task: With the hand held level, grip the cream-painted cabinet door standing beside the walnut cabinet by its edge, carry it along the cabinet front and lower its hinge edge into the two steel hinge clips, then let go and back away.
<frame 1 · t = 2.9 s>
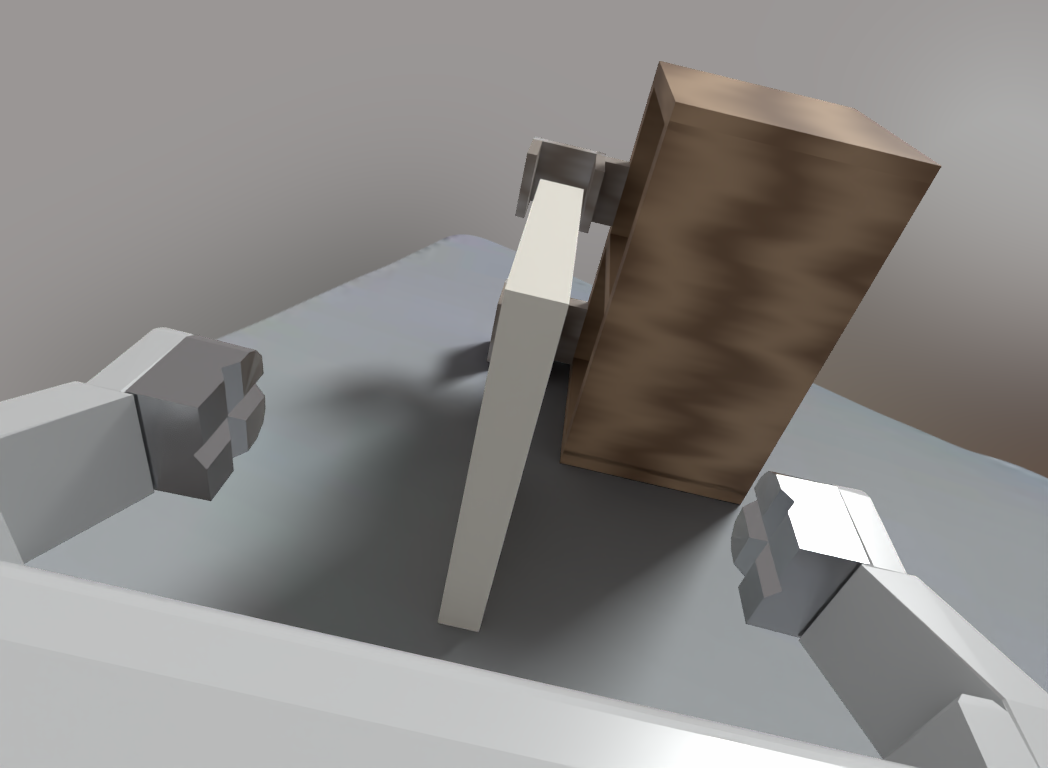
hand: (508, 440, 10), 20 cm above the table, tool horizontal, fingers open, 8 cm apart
door: (478, 537, 34), on the table
cabinet: (565, 406, 44), on the table
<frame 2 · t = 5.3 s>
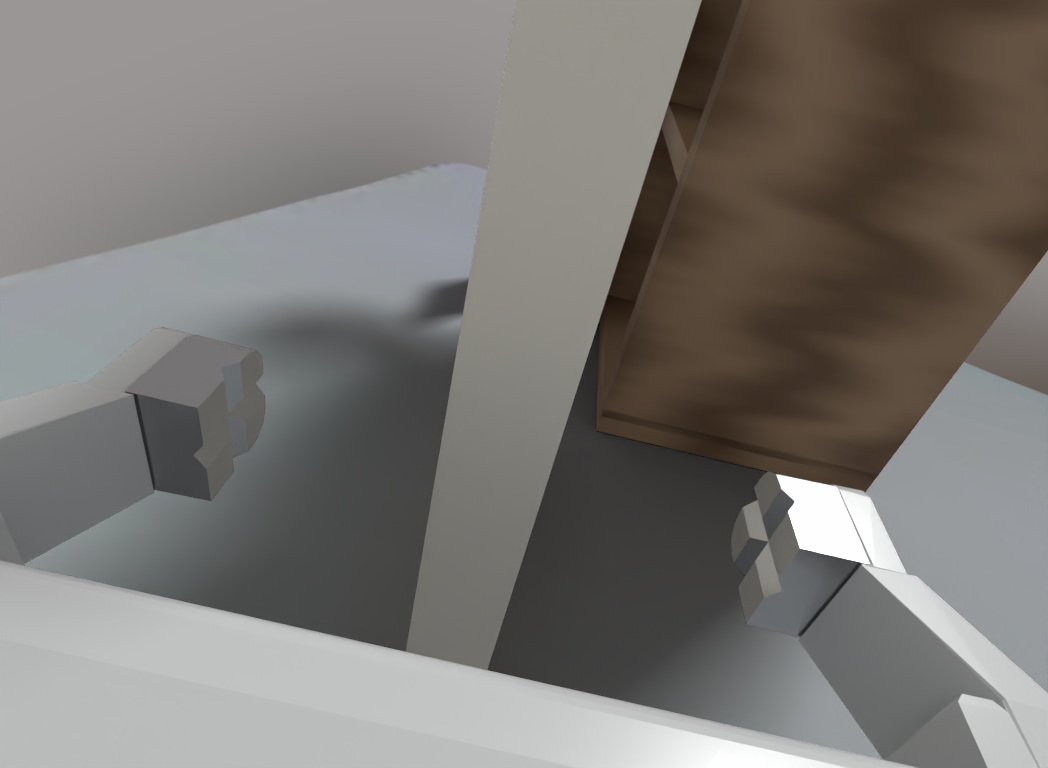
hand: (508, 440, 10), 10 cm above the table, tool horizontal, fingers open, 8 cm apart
door: (474, 541, 20), on the table
cabinet: (598, 356, 31), on the table
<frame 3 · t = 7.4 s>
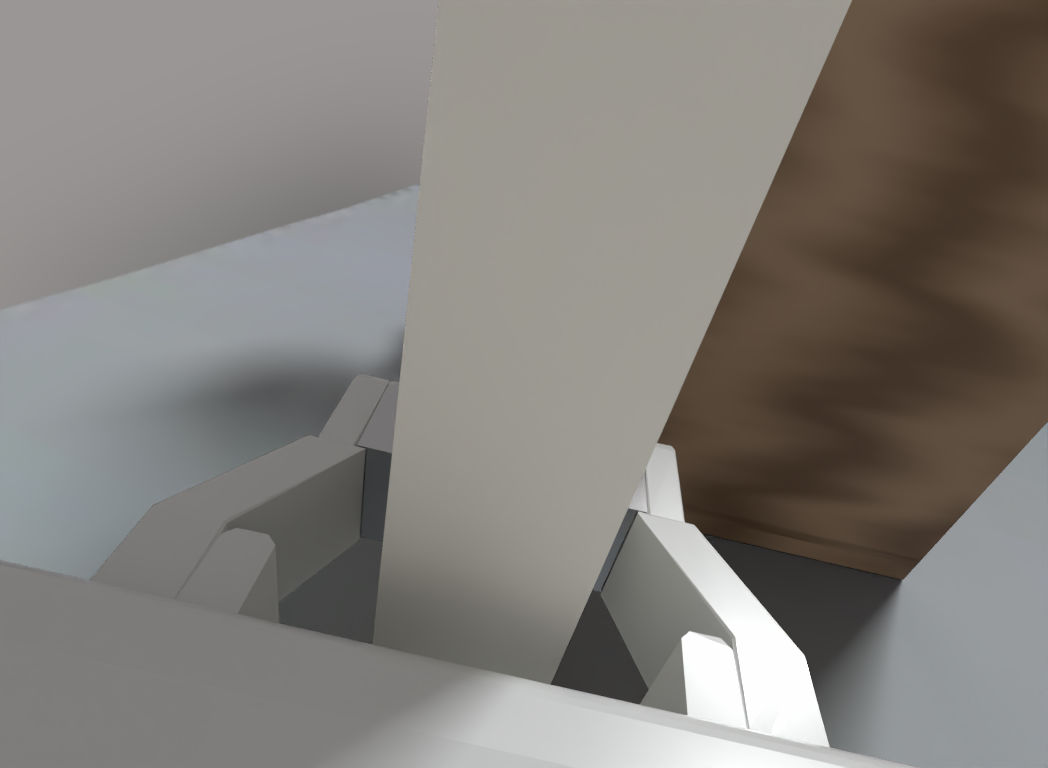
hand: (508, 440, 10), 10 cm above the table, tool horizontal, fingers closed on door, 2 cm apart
door: (450, 669, 17), on the table, touching gripper
cabinet: (598, 411, 28), on the table
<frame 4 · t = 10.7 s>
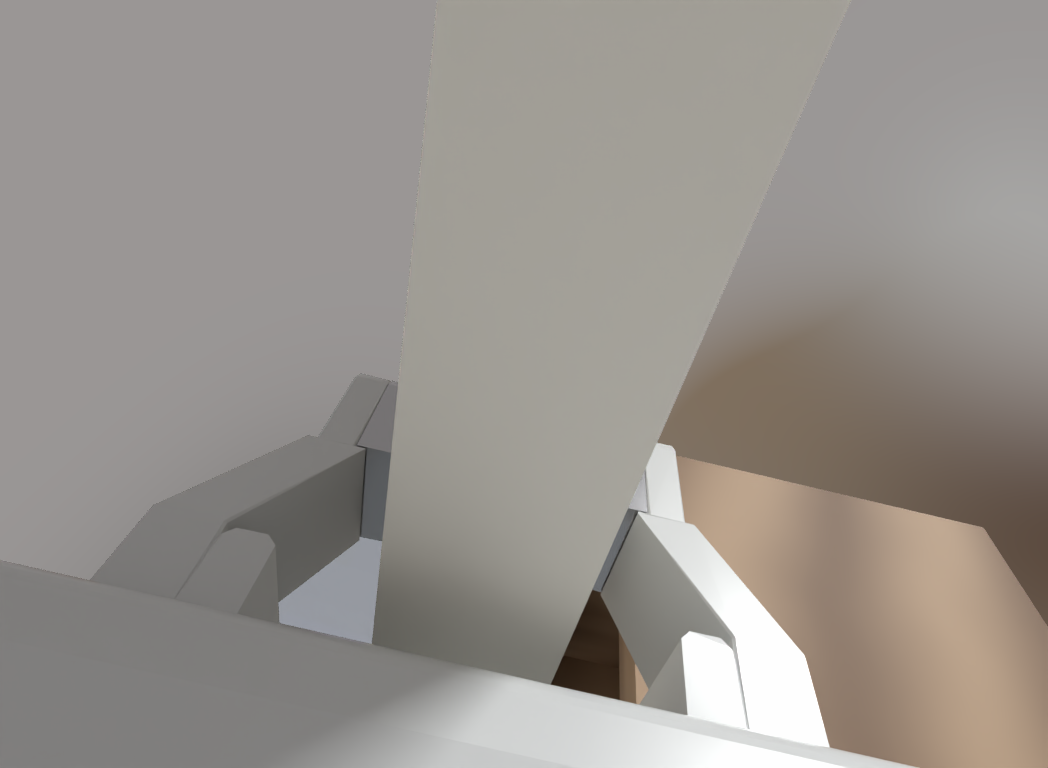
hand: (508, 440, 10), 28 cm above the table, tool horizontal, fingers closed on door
door: (450, 669, 17), point 18 cm above the table, touching gripper
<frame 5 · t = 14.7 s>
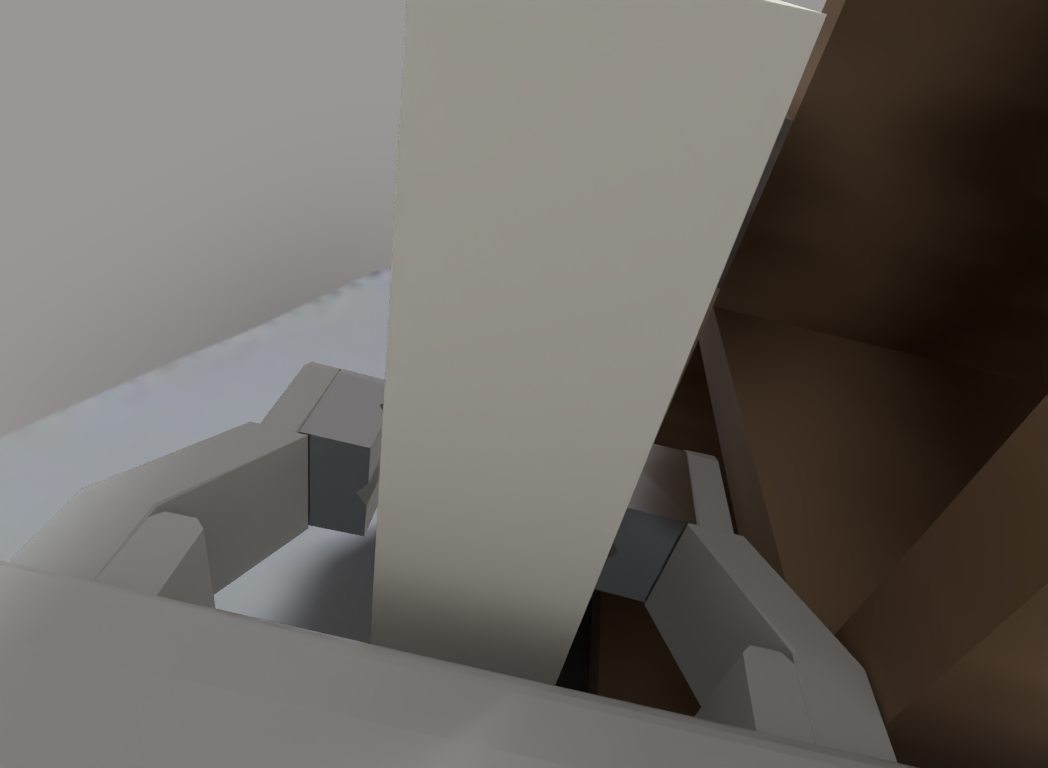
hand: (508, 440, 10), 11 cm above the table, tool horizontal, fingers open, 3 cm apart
door: (453, 702, 18), on the table
cabinet: (587, 716, 18), on the table
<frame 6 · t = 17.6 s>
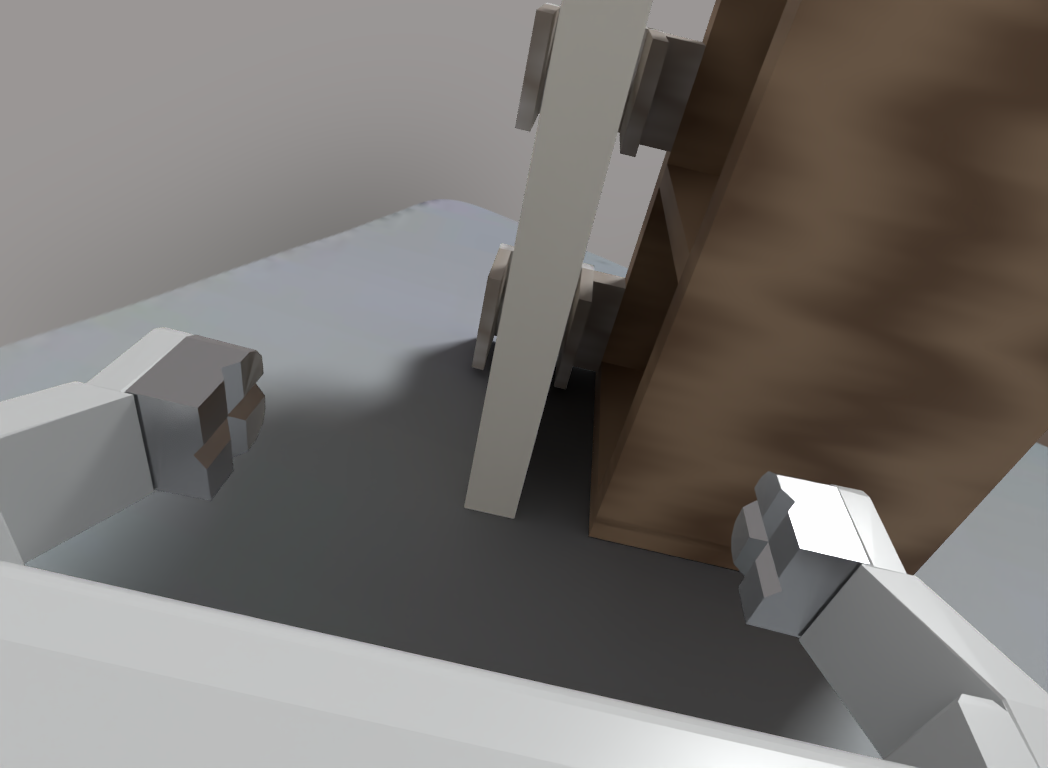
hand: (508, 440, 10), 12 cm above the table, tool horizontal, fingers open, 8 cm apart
door: (508, 425, 28), on the table
cabinet: (592, 437, 29), on the table
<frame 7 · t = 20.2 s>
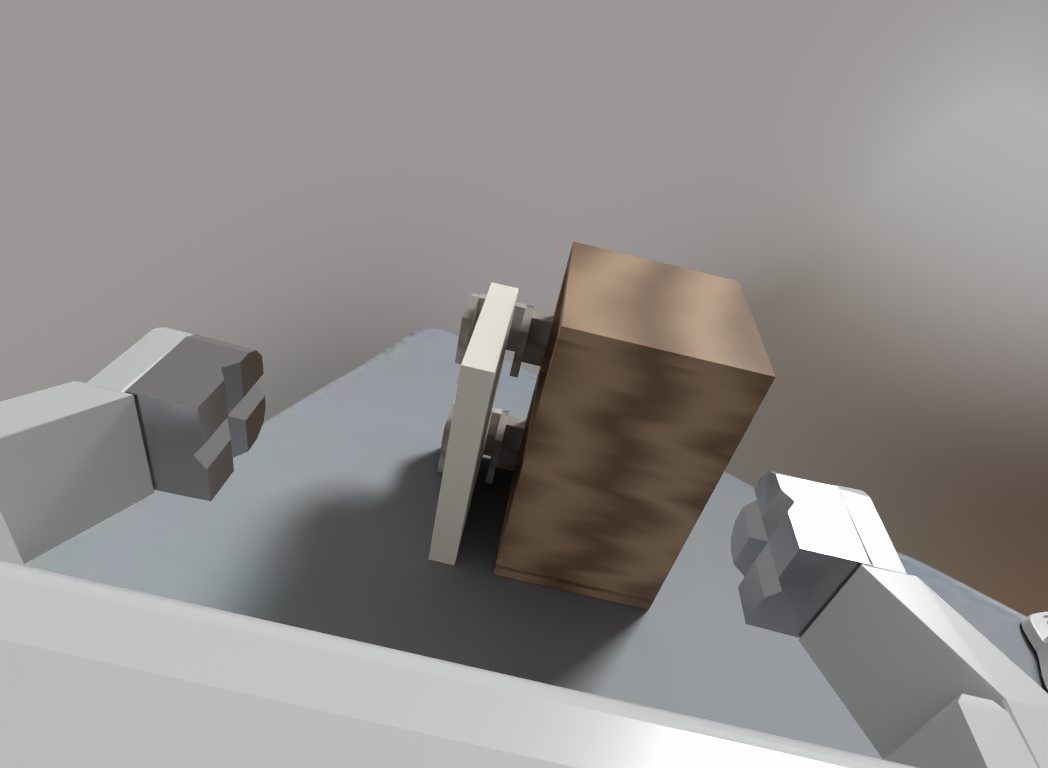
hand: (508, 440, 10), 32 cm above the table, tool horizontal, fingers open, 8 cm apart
door: (456, 508, 51), on the table
cabinet: (504, 514, 51), on the table
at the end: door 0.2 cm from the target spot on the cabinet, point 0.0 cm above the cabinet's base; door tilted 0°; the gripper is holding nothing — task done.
